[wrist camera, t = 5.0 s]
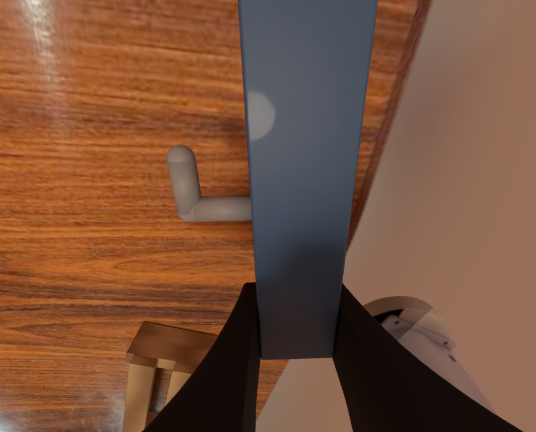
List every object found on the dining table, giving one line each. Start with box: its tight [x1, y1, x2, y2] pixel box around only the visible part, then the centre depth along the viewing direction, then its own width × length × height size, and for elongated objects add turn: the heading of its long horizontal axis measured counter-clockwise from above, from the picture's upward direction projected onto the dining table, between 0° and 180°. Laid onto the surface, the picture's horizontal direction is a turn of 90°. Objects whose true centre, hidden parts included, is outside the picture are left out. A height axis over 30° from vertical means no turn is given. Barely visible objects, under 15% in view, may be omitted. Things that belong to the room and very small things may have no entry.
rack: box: [122, 322, 218, 432], centre depth 25 cm, size 10×16×4 cm, turn 163°
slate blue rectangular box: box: [166, 0, 378, 360], centre depth 9 cm, size 5×12×4 cm, turn 2°
